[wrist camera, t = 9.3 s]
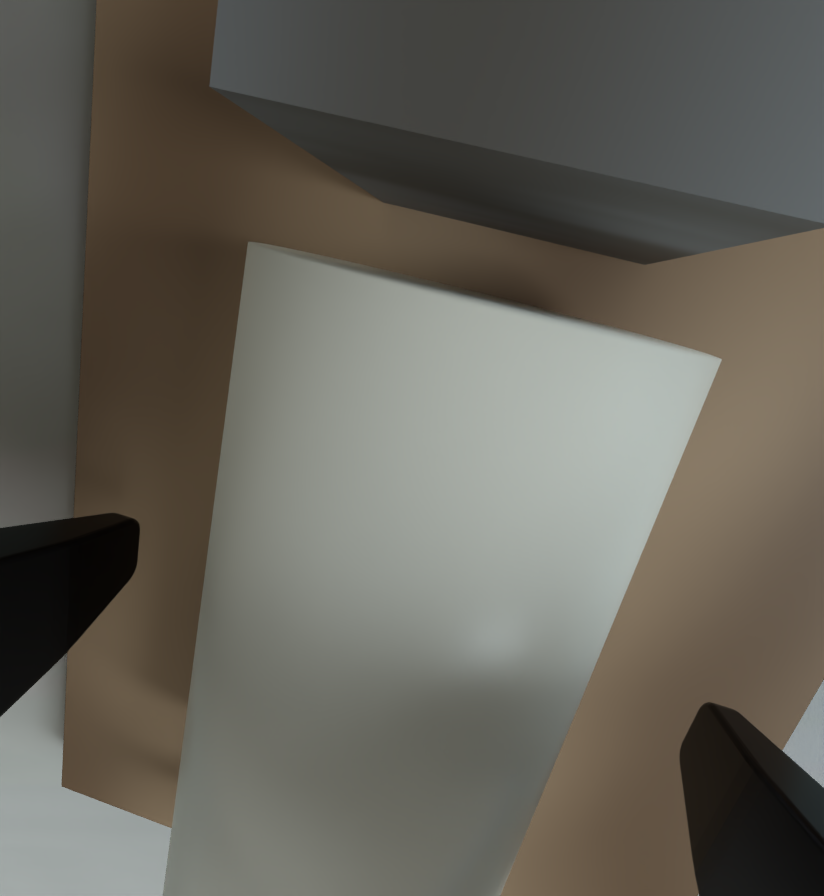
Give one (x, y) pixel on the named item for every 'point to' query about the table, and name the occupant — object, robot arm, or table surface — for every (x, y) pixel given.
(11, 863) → the table surface
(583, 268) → the roll holder
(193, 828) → the cylinder
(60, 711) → the table surface
